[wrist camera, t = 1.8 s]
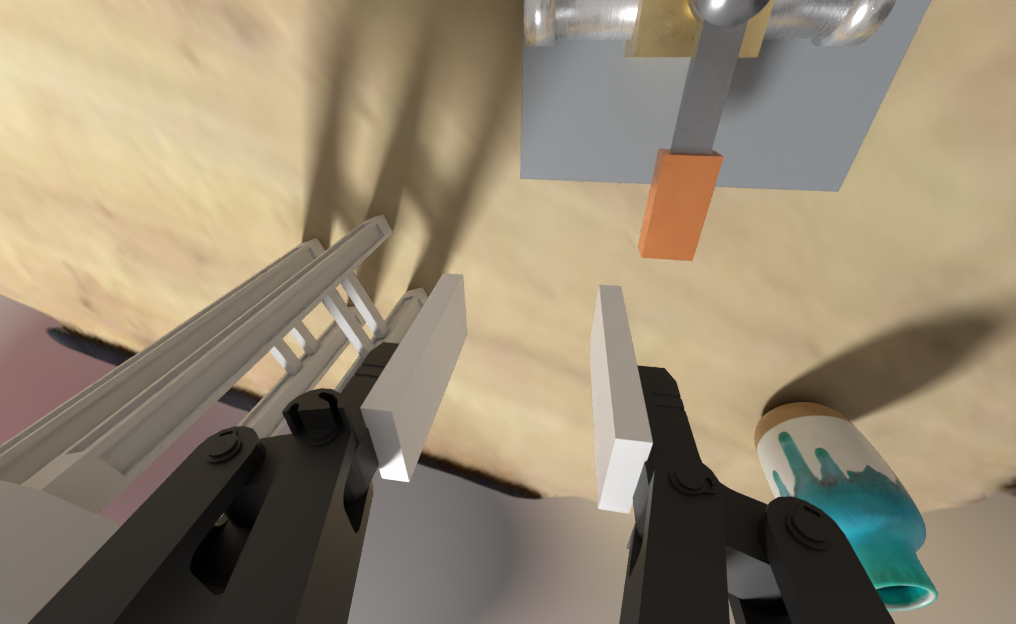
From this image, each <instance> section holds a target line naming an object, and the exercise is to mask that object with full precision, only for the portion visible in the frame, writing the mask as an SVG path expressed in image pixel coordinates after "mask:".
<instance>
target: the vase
mask: <svg viewBox="0 0 1016 624" xmlns="http://www.w3.org/2000/svg"><path fill="white" fill-rule="evenodd" d="M754 440H755V447H756V451H757V454H758V457H759V460H760V463H761V466H762V468H763V471H764V473H765V476H766V478H767V481H768V483H769V485H770V487H771V490H772V492H773V494H774V496H775V498H777V497H788V496H791V497H795V498H798V499H802V500H805V501H807V502H809V503H811V504H813V505H814V506H816V507H818V508H820V509H821V510H823V511H824V512H825V513H826V514H827V515H828V516H830V517H831V518H832V519H833V520H834V521H835V522H836V523H837V524H838V526H839V527H840V528H841V530H842V531H843V532H844V534H845V535H846V537H847V539H848V540H849V542H850V544H851V546H852V548H853V549H854V551H855V553H856V555H857V556H858V558H859V560H860V562H861V564H862V565H863V567H864V569H865V571H866V573H867V574H868V576H869V578H870V580H871V582H872V583H873V585H874V587H875V589H876V590H877V592H878V594H879V596H880V598H881V599H882V601H883V603H884V605H885V607H886V608H887V610H888V611H906V610H913V609H918V608H922V607H925V606H928V605H930V604H932V603H933V602H934V601H935V600H936V599H937V597H938V592H937V590H936V588H935V586H934V584H933V583H932V581H931V580H930V578H929V577H928V575H927V573H926V572H925V570H924V568H923V566H922V565H921V563H920V561H919V559H918V558H917V555H916V551H917V550H919V549H920V548H921V547H922V545H923V544H924V542H925V538H926V528H925V523H924V521H923V519H922V516H921V514H920V512H919V510H918V508H917V507H916V505H915V503H914V502H913V500H912V498H911V497H910V495H909V494H908V492H907V491H906V489H905V488H904V486H903V485H902V483H901V482H900V481H899V479H898V478H897V476H896V475H895V474H894V472H893V471H892V470H891V468H890V467H889V466H888V464H887V463H886V462H885V461H884V459H883V458H882V457H881V455H880V454H879V453H878V452H877V450H876V449H875V448H874V447H873V446H872V444H871V443H870V442H869V441H868V440H867V439H866V438H865V436H864V435H863V434H862V433H861V432H860V431H859V430H858V429H857V428H856V427H855V426H854V425H853V424H852V423H851V422H850V421H849V420H848V419H847V418H846V417H844V416H843V415H842V414H840V413H839V412H837V411H835V410H833V409H831V408H829V407H827V406H824V405H821V404H817V403H811V402H794V403H789V404H785V405H781V406H779V407H776V408H774V409H772V410H771V411H769V412H768V413H766V414H765V415H764V416H763V417H762V418H761V420H760V421H759V422H758V424H757V426H756V430H755V436H754Z"/></svg>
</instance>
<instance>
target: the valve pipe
mask: <svg viewBox="0 0 1016 624" xmlns="http://www.w3.org/2000/svg"><path fill="white" fill-rule="evenodd" d="M896 1H897V0H770V1H769V2H768V3H767V5H766V6H765V7H764V8H763V9H762V10H761V11H760V12H759V13H758V14H756V15H755V16H754V17H752V18H751V19H749V20H748V23H747V27H746V30H745V34H744V37H743V41H742V45H741V48H740V52H739V55H738V58H756V57H758V54H759V50H760V47H761V44H762V41H763V39H811V42H812V43H813V45H814V46H816V47H854V46H858V45H860V44H862V43H863V42H865V41H866V40H867V39H869V38H870V37H871V36H872V35H873V34H874V33H875V32H876V31H877V30H878V28H879V27H880V26H881V25H882V23H883V22H884V21H885V19H886V18H887V17H888V15H889V14H890V12H891V10H892V9H893V7H894V5H895V3H896ZM698 24H699V23H698V22H697V21H696V19H695V18H694V17H693V15H692V13H691V11H690V8H689V3H688V0H524V35H525V44H526V47H555V46H556V40H626V45H625V52H624V58H691V55H692V50H693V46H694V42H695V37H696V33H697V28H698Z"/></svg>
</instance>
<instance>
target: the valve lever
mask: <svg viewBox="0 0 1016 624" xmlns="http://www.w3.org/2000/svg"><path fill="white" fill-rule="evenodd" d="M769 1H770V0H688V3H689V8H690V11H691V13H692V15H693V17H694V18H695V19H696V21H697V22H698V23H699V24H698V28H697V33H696V37H695V42H694V46H693V50H692V55H691V59H690V64H689V68H688V73H687V77H686V82H685V86H684V90H683V95H682V99H681V104H680V108H679V113H678V117H677V122H676V126H675V131H674V135H673V139H672V144H671V148H670V149H658V153H657V158H656V163H655V167H654V172H653V177H652V182H651V187H650V191H649V196H648V201H647V206H646V211H645V215H644V220H643V225H642V230H641V235H640V239H639V244H638V248H639V251H640V254H641V257H642V258H655V259H671V260H687V261H693V257H694V254H695V251H696V248H697V244H698V241H699V238H700V234H701V231H702V228H703V224H704V221H705V218H706V214H707V211H708V208H709V204H710V201H711V198H712V194H713V191H714V188H715V184H716V181H717V178H718V175H719V171H720V168H721V165H722V161H723V158H724V156H722V155H721V154H719V153H718V152H716V151H714V150H712V147H713V144H714V140H715V137H716V133H717V130H718V126H719V123H720V119H721V115H722V112H723V108H724V105H725V101H726V98H727V94H728V91H729V87H730V84H731V80H732V76H733V73H734V69H735V66H736V62H737V59H738V55H739V52H740V48H741V45H742V41H743V37H744V34H745V30H746V27H747V23H748V20H749V19H751V18H752V17H754V16H755V15H756V14H758V13H759V12H760V11H761V10H762V9H763V8H764V7H765V6H766V5H767V3H768V2H769Z"/></svg>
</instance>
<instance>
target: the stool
mask: <svg viewBox="0 0 1016 624" xmlns="http://www.w3.org/2000/svg"><path fill="white" fill-rule="evenodd" d="M392 233H393V231H392V230H391V228H390V226H389V224H388V222H387V220H386V218H385V216H384V215H383V214H382V215H379V216H376V217H373V218H370V219H367V220H365V221H364V222H362V223H361V224H360V225H359V226H357V227H356V228H355V229H353V230H352V231H351V232H349V233H348V234H347V235H345V236H344V237H343V238H342V239H340V240H339V241H338V242H336V243H335V244H334V245H332V246H331V247H330V248H329V249H327V250H326V251H325V249H324V248H323V246H322V244H321V243H320V241H319V240H318V238H315V239H312V240H309V241H306V242H303V243H301V244H300V245H298V246H297V247H295V248H294V249H292V250H291V251H289V252H288V253H286V254H285V255H283V256H282V257H280V258H279V259H277V260H276V261H274V262H273V263H271V264H270V265H268V266H267V267H265V268H264V269H262V270H261V271H259V272H258V273H256V274H255V275H253V276H252V277H251V278H249V279H248V280H246V281H245V282H243V283H242V284H240V285H239V286H237V287H236V288H234V289H233V290H231V291H230V292H228V293H227V294H225V295H224V296H222V297H221V298H219V299H218V300H216V301H215V302H213V303H212V304H210V305H209V306H207V307H206V308H204V309H203V310H201V311H200V312H198V313H197V314H195V315H194V316H192V317H191V318H190V319H188V320H187V321H185V322H184V323H182V324H181V325H179V326H178V327H176V328H175V329H173V330H172V331H170V332H169V333H167V334H166V335H164V336H163V337H161V338H160V339H158V340H157V341H155V342H154V343H152V344H151V345H149V346H148V347H146V348H145V349H143V350H142V351H140V352H139V353H137V354H136V355H134V356H133V357H132V358H130V359H129V360H127V361H126V362H124V363H123V364H121V365H120V366H118V367H117V368H115V369H114V370H112V371H111V372H109V373H108V374H106V375H105V376H103V377H102V378H100V379H99V380H97V381H96V382H94V383H93V384H91V385H90V386H88V387H87V388H85V389H84V390H82V391H81V392H80V393H78V394H77V395H75V396H74V397H72V398H71V399H69V400H68V401H66V402H65V403H63V404H62V405H60V406H59V407H57V408H56V409H54V410H53V411H51V412H50V413H48V414H47V415H45V416H44V417H42V418H41V419H39V420H38V421H36V422H35V423H33V424H32V425H30V426H29V427H27V428H26V429H25V430H23V431H22V432H20V433H18V434H17V435H16V436H14V437H13V438H11V439H10V440H8V441H7V442H5V443H4V444H2V445H1V446H0V624H28V622H29V621H30V620H31V619H32V618H33V617H34V616H35V615H36V614H37V613H38V612H39V611H40V610H41V609H42V608H43V607H44V606H45V605H46V604H47V603H48V602H49V601H50V600H51V599H52V598H53V597H54V595H55V594H56V593H57V592H58V591H59V590H60V589H61V588H62V587H63V586H64V585H65V584H66V583H67V582H68V581H69V580H70V579H71V578H72V577H73V576H74V575H75V574H76V573H77V572H78V571H79V570H80V568H81V567H82V566H83V565H84V564H85V563H86V562H87V561H88V560H89V559H90V558H91V557H92V556H93V555H94V554H95V553H96V552H97V551H98V550H99V549H100V548H101V547H102V546H103V545H104V544H105V542H106V541H107V540H108V539H109V538H110V537H111V536H112V535H113V534H114V533H115V532H116V531H117V530H118V529H119V528H120V527H121V526H122V525H120V524H118V523H116V522H113V521H111V520H109V519H106V518H104V517H102V516H99V515H98V514H99V513H100V512H101V511H102V510H103V509H104V508H105V507H106V506H107V505H108V504H109V503H110V502H111V501H112V500H114V499H115V498H116V497H117V496H118V495H119V494H120V493H121V492H122V491H123V490H124V489H125V488H126V487H127V486H128V485H129V484H130V483H131V482H132V481H134V479H136V478H137V477H138V476H139V475H140V474H141V473H142V472H143V471H144V470H145V469H146V468H147V467H148V466H149V465H150V464H151V463H152V462H153V461H154V460H156V458H158V457H159V456H160V455H161V454H162V453H163V452H164V451H165V450H166V449H167V448H168V447H169V446H170V445H171V444H172V443H173V442H174V441H175V440H176V439H178V438H179V437H180V436H181V435H182V434H183V433H184V432H185V431H186V430H187V429H188V428H189V427H190V426H191V425H192V424H193V423H194V422H195V421H196V420H197V419H199V418H200V417H201V416H202V415H203V414H204V413H205V412H206V411H207V410H208V409H209V408H210V407H211V406H212V405H213V404H214V403H215V402H216V401H217V400H218V399H219V398H221V397H222V396H223V395H224V394H225V393H226V392H227V391H228V390H229V389H230V388H231V387H232V386H233V385H234V384H235V383H236V382H237V381H238V380H239V379H240V378H241V377H243V376H244V375H245V374H246V373H247V372H248V371H249V370H250V369H251V368H252V367H253V366H254V365H255V364H256V363H257V362H258V361H259V360H260V359H261V358H262V357H264V356H265V355H266V354H267V353H268V352H269V351H270V352H271V354H272V355H273V356H274V357H275V358H276V359H277V361H278V362H279V363H280V364H281V365H282V366H283V368H284V369H285V370H286V371H287V372H286V373H285V374H284V375H283V377H282V378H281V379H280V380H279V381H278V382H277V383H276V384H275V385H274V386H273V387H272V388H271V390H270V391H269V392H268V393H267V394H266V395H265V396H264V397H263V398H262V399H261V400H260V401H259V403H258V404H257V405H256V406H255V407H254V408H253V409H252V410H251V411H250V412H249V413H248V414H247V416H246V417H245V418H244V419H243V420H242V421H241V422H240V423H239V424H238V425H237V426H246V427H249V428H252V429H254V430H255V432H256V433H257V435H258V437H259V438H260V439H261V438H267V437H274V436H276V435H277V434H278V433H279V431H280V430H281V429H282V428H283V426H284V425H285V424H286V423H287V422H286V420H285V418H284V415H283V413H282V411H283V410H284V408H285V407H286V406H287V404H288V403H289V402H291V401H292V400H293V399H295V398H296V397H297V396H299V395H301V394H304V393H306V392H308V391H311V390H313V389H314V387H315V386H316V385H317V384H318V382H319V381H320V380H321V379H322V377H323V376H324V375H325V373H326V372H327V371H328V370H329V368H330V367H331V366H332V365H333V363H334V362H335V361H336V360H337V358H338V357H339V356H340V355H341V353H342V352H343V351H344V350H345V348H346V347H347V346H348V345H349V343H350V342H351V343H352V345H353V346H354V348H355V349H356V350H357V352H358V353H359V357H358V358H357V359H356V361H355V362H354V363H353V365H352V366H351V368H350V369H349V370H348V372H347V373H346V374H345V376H344V377H343V379H342V380H341V381H340V383H339V384H338V385H337V387H336V388H335V391H337V392H339V393H341V392H342V390H343V389H344V388H345V386H346V385H347V383H348V382H349V380H350V379H351V378H352V376H354V375H355V374H354V373H355V372H356V371H357V369H358V368H359V366H361V363H362V362H363V361H364V359H365V358H366V356H367V355H368V353H369V352H370V351H371V350H373V349H374V348H376V347H377V346H378V345H380V344H381V343H382V342H389V343H399V344H400V342H401V341H402V339H403V338H404V336H405V334H406V333H407V331H408V329H409V328H410V326H411V325H412V323H413V321H414V320H415V318H416V317H417V315H418V313H419V312H420V310H421V308H422V307H423V305H424V304H425V302H426V300H427V299H428V296H427V294H426V292H425V290H424V288H423V287H420V288H417V289H413V290H409V291H406V292H405V293H404V295H403V296H402V298H401V299H400V300H399V302H398V303H397V304H396V306H395V307H394V309H393V310H392V311H391V313H390V314H389V315H388V317H387V318H386V320H385V321H384V320H383V318H382V317H381V315H380V313H379V312H378V310H377V309H376V307H375V306H374V304H373V302H372V301H371V299H370V298H369V296H368V294H367V293H366V291H365V290H364V288H363V287H362V285H361V283H360V282H359V280H358V279H357V277H356V275H355V274H354V272H353V271H354V270H355V269H356V268H357V267H358V266H359V265H360V264H361V263H362V262H363V261H364V260H365V259H366V258H367V257H368V256H369V255H370V254H371V253H373V252H374V251H375V250H376V249H377V248H378V247H379V246H380V245H381V244H382V243H383V242H384V241H385V240H386V239H387V238H388V237H389V236H390V235H391V234H392ZM340 283H341V285H342V286H343V288H344V289H345V291H346V292H347V294H348V295H349V297H350V298H351V300H352V301H353V303H354V305H355V306H351V307H348V306H347V305H346V303H345V302H344V300H343V299H342V297H341V296H340V294H339V293H338V291H337V290H336V287H337V286H338V285H339V284H340ZM321 301H322V302H323V304H324V305H325V307H326V308H327V309H328V311H329V312H330V314H331V315H332V317H333V318H334V319H335V320H334V321H333V322H332V323H331V324H330V326H329V327H328V328H327V329H326V330H325V331H324V332H323V333H322V334H321V335H320V336H319V338H318V339H317V340H316V339H315V338H314V337H313V335H312V334H311V333H310V332H309V330H308V329H307V328H306V326H305V325H304V324H303V322H302V321H301V320H302V319H303V318H304V317H305V316H306V315H308V314H309V313H310V312H311V311H312V310H313V309H314V308H315V307H316V306H317V305H318V304H319V303H320V302H321ZM365 323H367V324H368V326H369V327H370V329H371V330H372V332H373V333H374V336H373V337H372V339H371V340H370V339H369V337H368V336H367V334H366V333H365V331H364V330H363V328H362V327H363V326H364V324H365ZM289 332H290V333H291V334H292V336H293V337H294V338H295V339H296V341H297V342H298V343H299V344H300V346H301V347H302V348H303V349H304V351H305V353H304V354H303V355H302V356H301V357H300V358H299V359H298V358H297V356H296V355H295V354H294V353H293V352H292V350H291V349H290V348H289V347H288V345H287V344H286V343H285V342H284V341H283V339H282V338H283V337H284V336H286V335H287V334H288V333H289Z"/></svg>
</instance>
